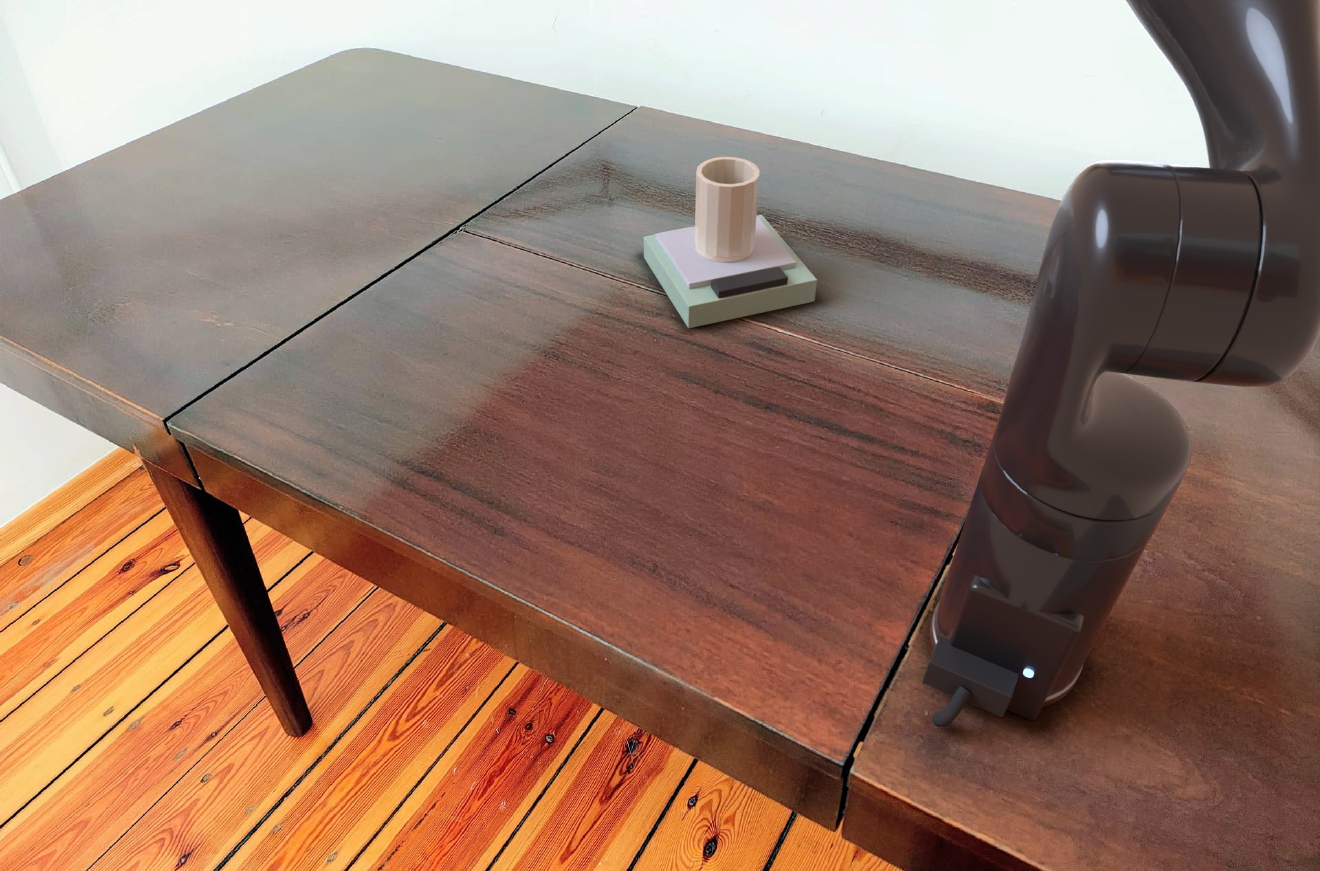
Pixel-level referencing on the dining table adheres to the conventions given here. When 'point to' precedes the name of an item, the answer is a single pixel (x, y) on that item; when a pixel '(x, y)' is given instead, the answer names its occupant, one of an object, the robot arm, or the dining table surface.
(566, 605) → the dining table surface
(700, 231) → the cup
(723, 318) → the scale
